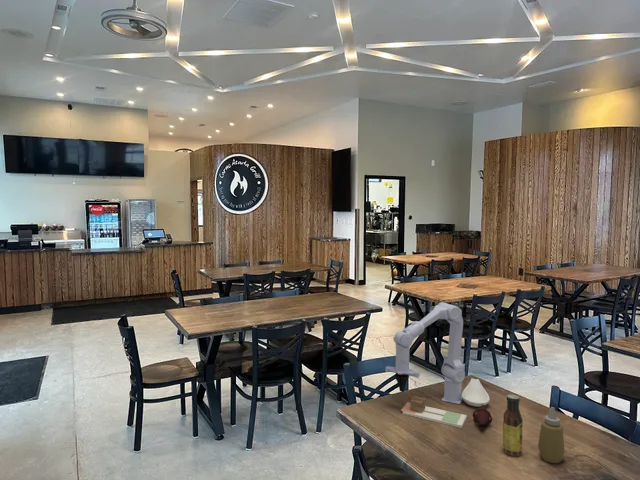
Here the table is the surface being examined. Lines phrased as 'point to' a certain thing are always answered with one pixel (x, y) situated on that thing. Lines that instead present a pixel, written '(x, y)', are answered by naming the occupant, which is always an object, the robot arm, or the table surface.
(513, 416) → the sauce bottle
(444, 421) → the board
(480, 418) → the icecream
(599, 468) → the table surface
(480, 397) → the spoon rest
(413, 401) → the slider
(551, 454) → the squeeze bottle
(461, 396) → the robot arm
